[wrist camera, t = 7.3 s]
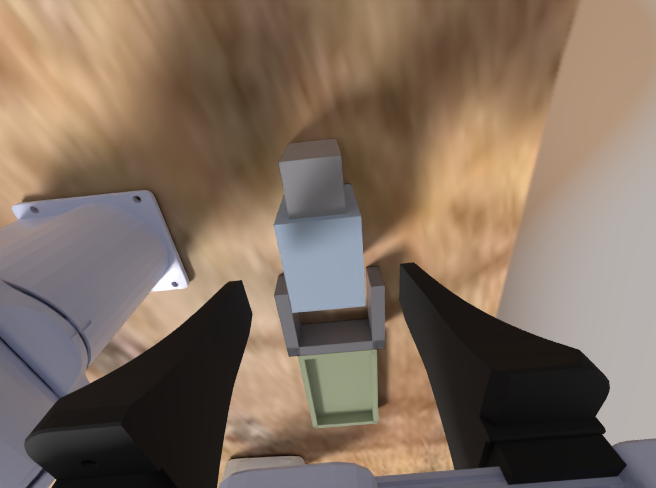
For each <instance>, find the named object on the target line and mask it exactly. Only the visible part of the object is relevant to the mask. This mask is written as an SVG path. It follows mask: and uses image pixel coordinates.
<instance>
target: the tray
mask: <svg viewBox="0 0 656 488" xmlns="http://www.w3.org/2000/svg"><path fill="white" fill-rule="evenodd" d="M298 359H299V364H300V369H301V373H302V378H303V382H304V387H305V392H306V396H307V401H308V405H309V410H310V414H311V419H312V424H313V428H326V427H338V426H351V425H363V424H376V423H378V383H377V349H372V350H360V351H348V352H337V353H325V354H314V355H302V356H298Z"/></svg>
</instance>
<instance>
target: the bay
mask: <svg viewBox="0 0 656 488" xmlns="http://www.w3.org/2000/svg"><path fill="white" fill-rule="evenodd" d="M366 281H367V307H368V319H360V320H349V321H338V322H327V323H316V324H304V325H301V323H300V318H299V313H298V312H297V313H292V308H291V303H290V299H289V294H288V289H287V285H286V280H285V275H280V276H278V280H277V285H276V290H275V294H274V297H275V301H276V306H277V310H278V314H279V318H280V322H281V326H282V330H283V335H284V339H285V343H286V347H287V351H288V355H289V357H291V356H302V355H314V354H325V353H337V352H348V351H360V350H372V349H383V348H385V284H384V281H383V278H382V275H381V272H380V269H379V266H375V267H366Z"/></svg>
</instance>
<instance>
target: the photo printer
mask: <svg viewBox="0 0 656 488" xmlns="http://www.w3.org/2000/svg"><path fill="white" fill-rule="evenodd" d="M292 465H305V462H304V460H303V459H302V458H301V457H300V456H277V457H258V458H239V459H231V460H228V462H227V464H226V467H225V471H224V475H223V479H222V482H223V481H224V480H225V479H226V478H228V477H229V476H230V475H231V474H233V473H235V472H239V471H243V470H248V469H256V468H268V467H280V466H292Z"/></svg>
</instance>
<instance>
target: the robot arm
mask: <svg viewBox="0 0 656 488" xmlns="http://www.w3.org/2000/svg"><path fill="white" fill-rule="evenodd" d="M136 196H138V197H140V199H141V201H139V200H138V199H137V198H136ZM35 207H36V208H37V209H38V210H39V211H38V210H37V209H36V208H35ZM12 210H13V212H14V214H15V215H16V217H17V218H18V221H15V222H13V223H11V224H9V225H6V226H4V227H2V228H0V488H48V487H49V486H50V484H51V483H52V482H53V481H54V479H56V482H55V483H54V485H53V486H52V488H217V483H218V475H219V467H220V460H221V454H222V447H223V440H224V434H225V428H226V423H227V417H228V411H229V406H230V401H231V396H232V391H233V387H234V383H235V379H236V376H237V373H238V370H239V367H240V363H241V360H242V357H243V354H244V350H245V347H246V344H247V340H248V337H249V333H250V327H251V321H252V311H251V308H250V305H249V301H248V298H247V295H246V292H245V289H244V286H243V282H242V280H240V281H230V282H228V283H227V284H225V285H224V286H223V287H222V288H221V289H220V290H219V291H218V292H217V293H216V294H215V295H214V296H213V297H212V298H211V299H210V300H209V301H207V302H206V303H205V304H204V305H203V306H202V307H201V308H200V309H199V310H198V311H197V312H196V313H195V314H193V315H192V316H191V317H190V318H189V319H188V320H186V321H185V322H184V323H183V324H182V325H181V326H180V327H178V328H177V329H176V330H175V331H173V332H172V333H171V334H169V335H168V336H167V337H165V338H164V339H163V340H161V341H160V342H159V343H157V344H156V345H154V346H153V347H151V348H150V349H148V350H147V351H145V352H144V353H142V354H141V355H139V356H138V357H136V358H134V359H133V360H131V361H130V362H128V363H126V364H125V365H123V366H121V367H120V368H118V369H116V370H114V371H113V372H111V373H109V374H107V375H105V376H104V377H102V378H100V379H98V380H96V381H94V382H92V383H90V382H89V381H88V379H87V378H86V375H85V371H86V369H87V368H88V367H89V366H90V364H91V363H92V362H93V361H94V360H95V358H96V357H97V356H98V355H99V354H100V352H101V351H102V350H103V349H104V347H105V346H106V345H107V344H108V343H109V341H110V340H111V339H112V338H113V337H114V335H115V334H116V333H117V332H118V331H119V329H120V328H121V327H122V326H123V324H124V323H125V322H126V321H127V320H128V318H129V317H130V316H131V315H132V314H133V312H134V311H135V310H136V309H137V308H138V306H139V305H140V304H141V303H142V302H143V300H144V299H145V298H146V297H147V295H148V294H149V293H150V292H152V291H162V290H173V289H184V288H186V287H187V286H188V285H189V283H190V282H189V279H188V276H187V274H186V271H185V269H184V267H183V264H182V262H181V259H180V257H179V255H178V252H177V250H176V247H175V245H174V242H173V240H172V238H171V235H170V233H169V230H168V228H167V225H166V223H165V221H164V218H163V216H162V213H161V211H160V208H159V206H158V204H157V201H156V199H155V196H154V195H153V193H151V192H150V191H148V190H138V191H128V192H118V193H109V194H99V195H89V196H80V197H70V198H60V199H50V200H41V201H31V202H21V203H18V204H15V205H13V206H12ZM174 282H177V283H178V284H176V283H174ZM399 300H400V303H401V307H402V311H403V314H404V318H405V321H406V323H407V325H408V328H409V330H410V333H411V335H412V337H413V340H414V342H415V344H416V347H417V349H418V351H419V354H420V356H421V358H422V361H423V363H424V366H425V369H426V371H427V374H428V377H429V381H430V384H431V387H432V390H433V393H434V397H435V400H436V404H437V407H438V410H439V414H440V417H441V421H442V424H443V428H444V432H445V435H446V439H447V442H448V446H449V450H450V454H451V458H452V461H453V465H454V469H455V470H450V471H438V472H425V473H413V474H401V475H388V476H376V477H374V476H373V474H372V473H371V471H370V470H368V469H367V468H365V467H363V466H360V465H358V464H355V463H346V462H329V463H317V464H305V465H292V466H280V467H268V468H256V469H248V470H243V471H239V472H235V473H233V474H231V475H230V476H229V477H228V478H226V479H225V480H224V481H223V482H221V483H220V485H219V488H656V439H644V440H632V441H625V442H620V443H618V444H615V445H613V446H611V445H610V444H609V442H608V441H607V440H606V439H605V437H604V436H603V435H602V434H604V433H605V432H606V430H605V428H604V426H603V425H602V424H601V423H600V421H599V420H598V419H597V418H596V417H595V416H596V415H597V413H598V411H599V410H600V408H601V406H602V404H603V403H604V401H605V400H606V398H607V396H608V393H609V389H610V386H609V380H608V379H607V377H606V376H605V375H604V374H603V373H602V372H601V371H600V370H599V369H598V368H597V367H596V366H595V365H594V364H593V363H592V362H591V361H590V360H589V359H588V358H587V357H586V356H585V355H584V354H583V353H582V352H581V351H580V350H578V349H575V348H572V347H569V346H566V345H563V344H560V343H556V342H553V341H550V340H547V339H544V338H542V337H539V336H536V335H534V334H531V333H529V332H526V331H523V330H521V329H519V328H516V327H514V326H512V325H510V324H507V323H505V322H503V321H501V320H499V319H497V318H495V317H493V316H491V315H489V314H487V313H485V312H483V311H481V310H480V309H478V308H476V307H474V306H473V305H471V304H469V303H467V302H466V301H464V300H463V299H461V298H460V297H458V296H457V295H455V294H454V293H452V292H451V291H449V290H448V289H447V288H445V287H444V286H443V285H441V284H440V283H439V282H437V281H436V280H435V279H433V278H432V277H431V276H430V275H428V274H427V273H426V272H425V271H424V270H422V269H421V268H420V267H419V266H418V265H416V264H415V263H414V262H413V263H403V264H400V293H399Z"/></svg>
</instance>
